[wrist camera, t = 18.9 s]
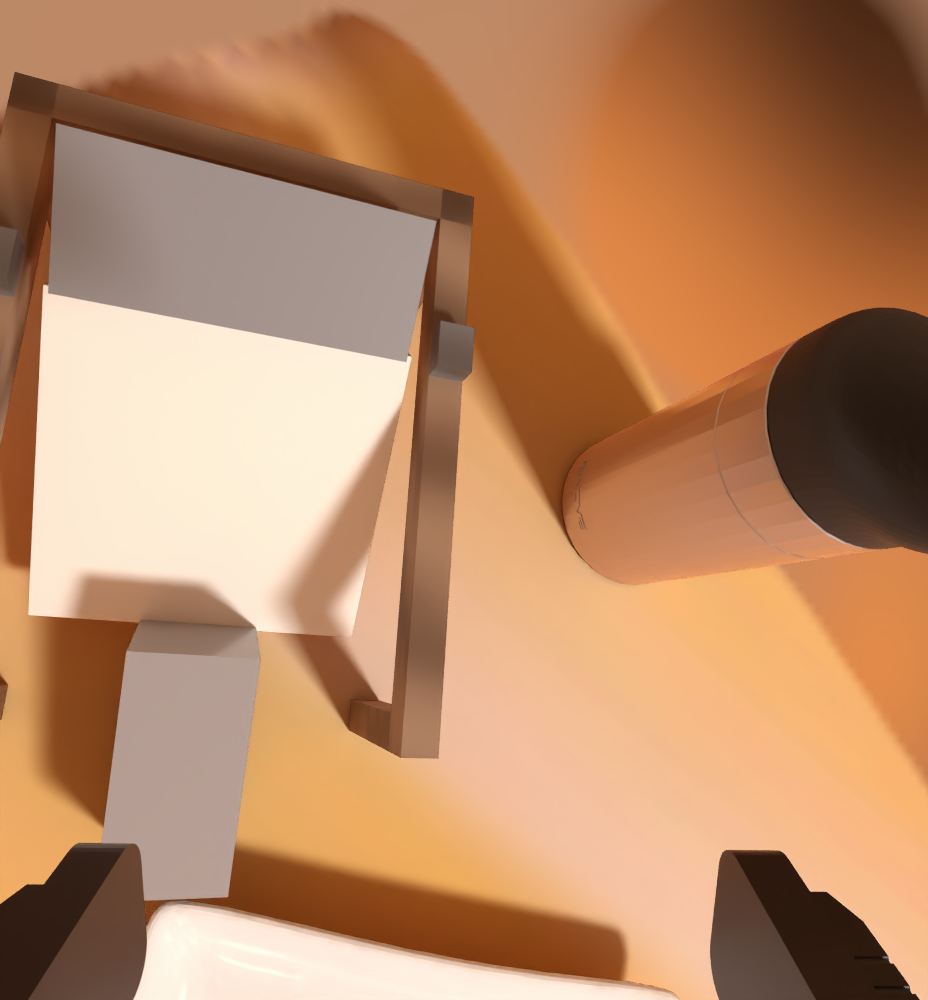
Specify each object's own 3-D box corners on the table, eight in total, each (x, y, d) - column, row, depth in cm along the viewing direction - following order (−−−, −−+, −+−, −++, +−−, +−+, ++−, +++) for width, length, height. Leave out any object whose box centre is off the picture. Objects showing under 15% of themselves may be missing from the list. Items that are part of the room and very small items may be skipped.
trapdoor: (67, 127, 27) (38, 118, 24) (428, 219, 32) (448, 224, 28) (43, 586, 34) (17, 634, 30) (346, 610, 38) (354, 654, 35)
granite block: (260, 658, 30) (227, 897, 30) (255, 627, 35) (227, 833, 35) (126, 651, 28) (93, 902, 29) (140, 619, 33) (112, 835, 33)
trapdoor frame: (61, 220, 38) (7, 48, 27) (412, 297, 44) (483, 182, 33) (-38, 718, 32) (-155, 753, 22) (377, 730, 38) (448, 762, 27)
